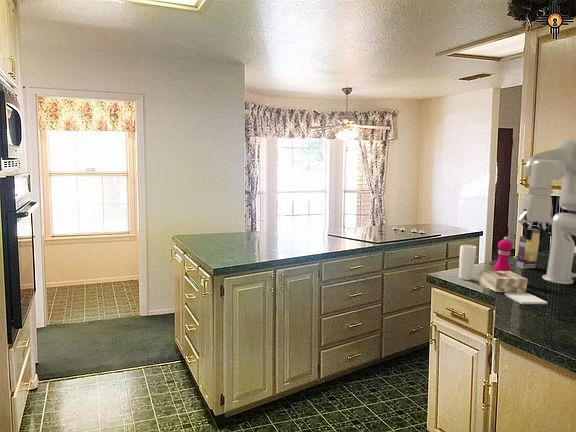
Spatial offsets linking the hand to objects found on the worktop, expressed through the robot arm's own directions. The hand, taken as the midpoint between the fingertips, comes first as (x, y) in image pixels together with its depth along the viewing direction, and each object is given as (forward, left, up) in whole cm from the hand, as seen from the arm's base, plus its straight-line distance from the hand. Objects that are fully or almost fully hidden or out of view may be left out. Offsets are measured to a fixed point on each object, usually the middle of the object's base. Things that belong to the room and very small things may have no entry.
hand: (533, 238), depth 183 cm
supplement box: (-37, -51, -25) cm, 67 cm away
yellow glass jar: (0, 0, -8) cm, 8 cm away
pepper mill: (-7, -27, -25) cm, 37 cm away
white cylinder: (+10, -28, -25) cm, 38 cm away
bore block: (+1, -14, -24) cm, 28 cm away
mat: (0, 0, -24) cm, 24 cm away
